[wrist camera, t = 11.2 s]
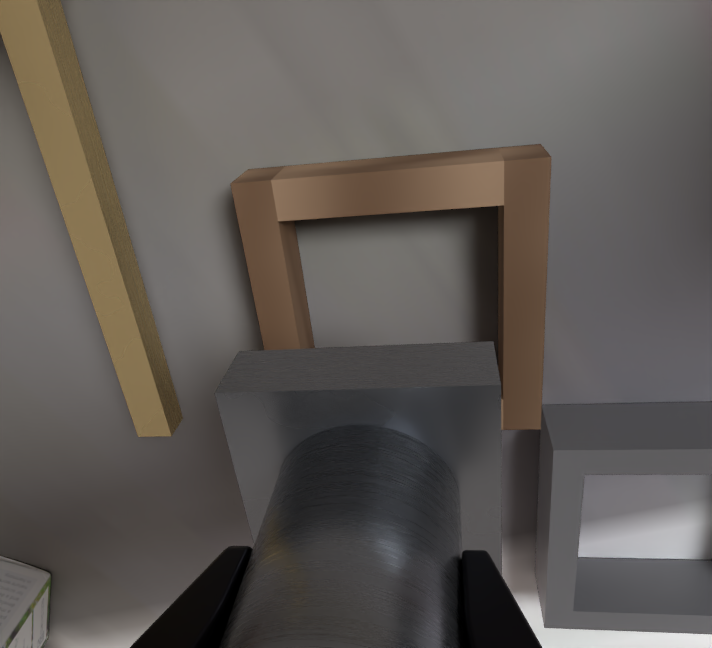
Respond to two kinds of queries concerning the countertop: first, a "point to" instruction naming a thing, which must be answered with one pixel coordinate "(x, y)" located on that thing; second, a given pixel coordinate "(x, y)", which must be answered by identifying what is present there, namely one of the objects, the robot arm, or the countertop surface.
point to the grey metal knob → (362, 491)
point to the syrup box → (23, 605)
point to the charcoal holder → (564, 504)
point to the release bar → (90, 205)
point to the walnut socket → (397, 195)
